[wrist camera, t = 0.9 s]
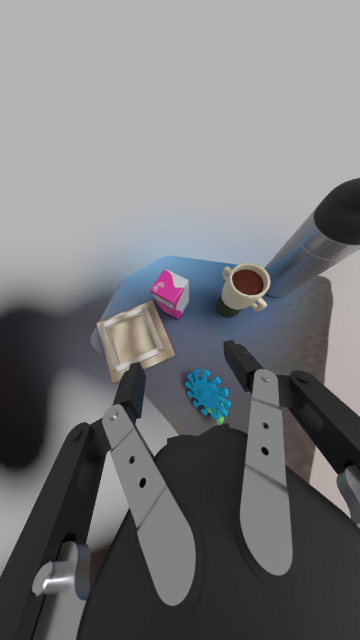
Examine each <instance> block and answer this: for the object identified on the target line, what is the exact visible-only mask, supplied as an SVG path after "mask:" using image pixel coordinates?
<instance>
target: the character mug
mask: <svg viewBox="0 0 360 640" xmlns="http://www.w3.org/2000/svg"><path fill="white" fill-rule="evenodd" d="M227 273H228V274H229V276H227ZM222 278H223V279H224V280H225V281H226V282H225V284H224V286H223V289H222V292H221V294H222V296H221V297H220V298H219V300H218V302H217V309H218V311H219V312H220V313H221V314H222V315H224V316H226V317H233V316H235V315H237V314H238V313H239V312H240V310H241V309H245V308H247V307H249V306H251V307H252V308H253V309H254V310H255V311H256V312H258V311H261V310H262V309H264V308H265V307H266V306H267V304H266V302H265V301H264V300H263V299H262V298H261V297H262V296H263V295H264V294H265V293H266V292H267V290H268V289H269V286H270V277H269V274H268V273H267V271H266V270H265V269H264V268H263V267H261V266H259V265H257V264H252V263H243V264H240V265H238V266H236V267H235V268H234V269H233V270H232V269H231V268H230V267H228V266H227V267H225V268H224V271H223V273H222ZM255 302H257V303H258V304H259V306H257V305H256V304H255Z"/></svg>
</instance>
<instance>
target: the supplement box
mask: <svg viewBox="0 0 360 640" xmlns="http://www.w3.org/2000/svg"><path fill="white" fill-rule="evenodd" d="M150 291H151V293H152V295H153V296H154V298H155V300H156V301H157V303H158V305H159V306H160V308H161V310H162V311H164V312H166V313H168V314H169V315H171V316H173V317H174V318H176V319H178V320H179V319H180V317H181V316H182V314H183V313H184V311H185V309H186V308H187V306H188V305H189V280H187V279H185V278H183V277H181V276H179V275H177V274H175V273H173V272H171V271H169V270H167V269H165V270H164V271H163V272H162V274H161V275H160V277H159V278H158V279H157V281H156V282H155V284H154V285H153V286H152V288H151V289H150Z"/></svg>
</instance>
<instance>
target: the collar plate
mask: <svg viewBox="0 0 360 640" xmlns="http://www.w3.org/2000/svg"><path fill="white" fill-rule="evenodd" d="M97 326H98V330H99V334H100V338H101V342H102V345H103V349H104V353H105V357H106V361H107V365H108V368H109V372H110V376H111V380H112V383H115V382H117V381H120V380H121V377H122V375H123V374H124V372H125V371H127V370H129V367H130V364H132V363H136V362H140V364H141V366H142V368H143V370H144V369H146V368H149V367H151V366H153V365H155V364H157V363H160V362H162V361H164V360H166V359H169V358H171V357H173V356H175V353H174V351H173V348H172V346H171V343H170V341H169V339H168V336H167V334H166V331H165V329H164V326H163V324H162V321H161V319H160V317H159V314H158V312H157V309H156V307H155V304H154V302H153V300H151V301H149V302H146V303H144V304H142V305H139V306H137V307H135V308H132V309H130V310H127V311H125V312H123V313H120V314H118V315H115V316H113V317H111V318H108V319H106V320H103V321H101V322H99V323H97Z"/></svg>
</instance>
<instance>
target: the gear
mask: <svg viewBox="0 0 360 640" xmlns="http://www.w3.org/2000/svg"><path fill="white" fill-rule="evenodd" d="M193 373H194V374H193ZM193 373H190V374H188V375H187V378H188V379H189V380H188V381H186V383H185V386H186V387H188V388H190V389H191V390H189V391H188V392H187V394H188V396H189V397H194V398H196V399H195V400H194V401H193V404H194V406H195V407H198V406H199V405H204V406H205V407H204V408H203V409H202V410H201V412H202V413H203V414H204V415H205V416H206V415H207V414H208V413H210V414H211V417H212V418H214V419H217V420H216V422H217V424H218V425H221V424H222V422H223V420H224V418H223V417H225V416H226V415H227V414H228V412H227V410H228V409H229V407H230V405H231V402H230V401H229V400H226V399H224V398H223V397H227V396H228V389H227V388H218V387H216V385H219V384H220V383H221V380H220V379H219V378H218V376H216V377H215V378H214V379H213V380H211V381H208V380H207V379H206V378H207V377H208V376H209V375H210V372H209V371H208V370H206V369H205V370H204V371H203V378H202V379H201V378H200V377H199V374H200V370H199V369H195V370H193ZM194 375H195V378H196V380H195V379H194ZM191 382H192V383H191ZM192 384H193V385H192ZM219 393H220V394H221V395H222V396H223V397H222V396H221V395H220V394H219ZM220 402H221V403H220ZM223 406H224V408H225V409H224V408H223ZM226 409H227V410H226Z"/></svg>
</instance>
